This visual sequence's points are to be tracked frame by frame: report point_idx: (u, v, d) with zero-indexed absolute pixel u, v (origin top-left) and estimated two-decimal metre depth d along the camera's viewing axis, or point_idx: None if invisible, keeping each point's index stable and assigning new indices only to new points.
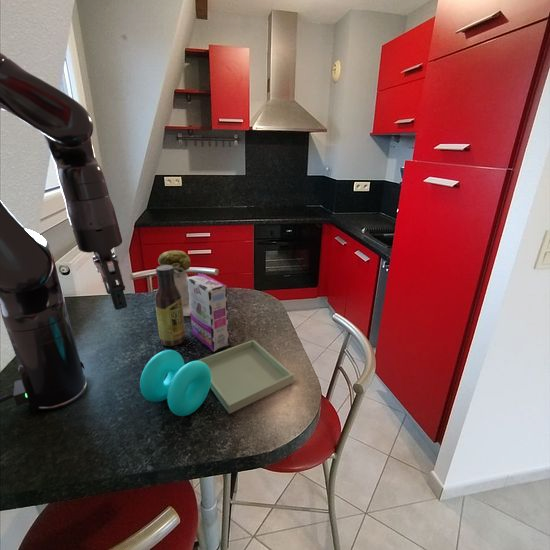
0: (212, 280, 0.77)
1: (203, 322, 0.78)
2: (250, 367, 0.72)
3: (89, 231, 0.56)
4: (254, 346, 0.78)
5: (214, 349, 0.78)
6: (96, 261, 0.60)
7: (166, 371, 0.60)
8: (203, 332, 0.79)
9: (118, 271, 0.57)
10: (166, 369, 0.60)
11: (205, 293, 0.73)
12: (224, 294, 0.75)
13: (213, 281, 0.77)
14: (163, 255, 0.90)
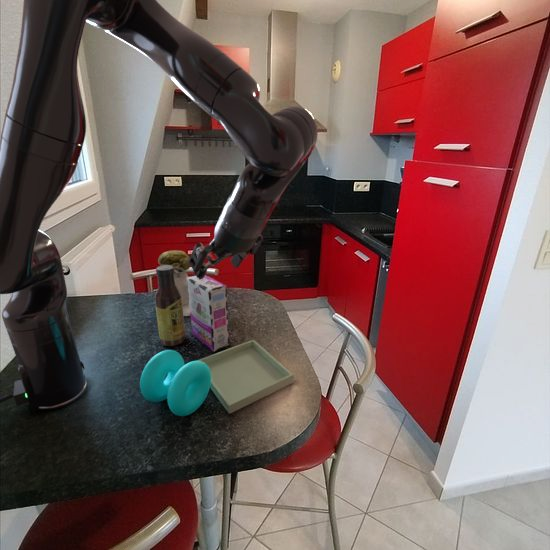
0: (212, 280, 0.77)
1: (203, 322, 0.78)
2: (250, 367, 0.72)
3: (220, 220, 0.54)
4: (254, 346, 0.78)
5: (214, 349, 0.78)
6: None
7: (166, 371, 0.60)
8: (203, 332, 0.79)
9: (198, 260, 0.56)
10: (166, 369, 0.60)
11: (205, 293, 0.73)
12: (224, 294, 0.75)
13: (213, 281, 0.77)
14: (163, 255, 0.90)
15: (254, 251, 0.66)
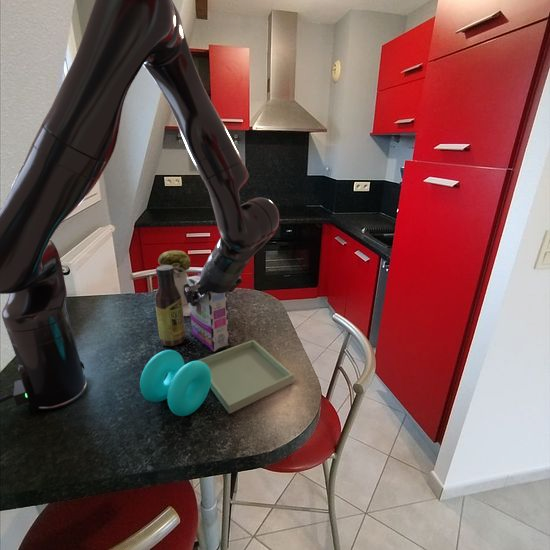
0: None
1: (203, 322, 0.78)
2: (250, 367, 0.72)
3: (204, 267, 0.66)
4: (254, 346, 0.78)
5: (214, 349, 0.78)
6: None
7: (166, 371, 0.60)
8: (203, 331, 0.79)
9: (186, 297, 0.70)
10: (166, 369, 0.60)
11: None
12: (224, 294, 0.75)
13: None
14: (163, 255, 0.90)
15: (232, 289, 0.78)
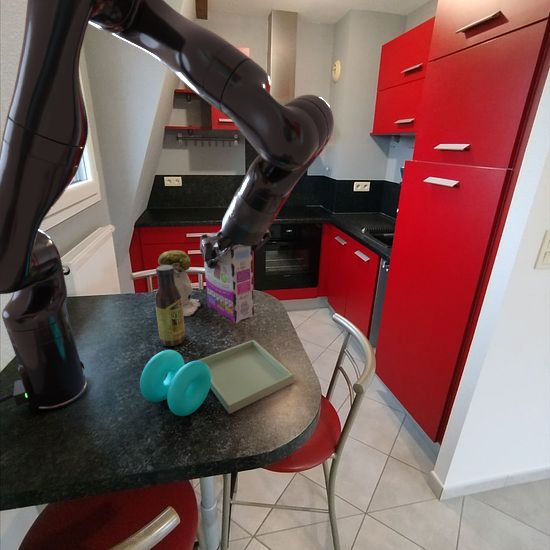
0: None
1: (222, 288, 0.64)
2: (250, 367, 0.72)
3: (228, 210, 0.52)
4: (254, 346, 0.78)
5: (236, 320, 0.63)
6: None
7: (166, 371, 0.60)
8: (223, 300, 0.65)
9: (204, 251, 0.56)
10: (166, 369, 0.60)
11: None
12: (249, 251, 0.61)
13: None
14: (163, 255, 0.90)
15: (257, 248, 0.64)
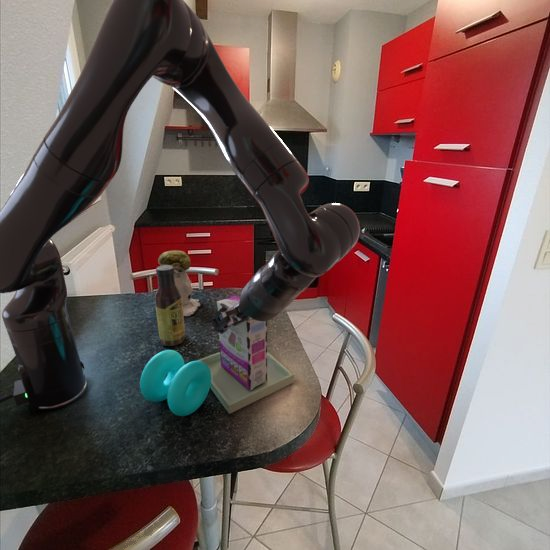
0: None
1: (237, 356, 0.65)
2: None
3: (247, 290, 0.52)
4: None
5: (251, 388, 0.64)
6: None
7: (166, 371, 0.60)
8: (237, 366, 0.66)
9: (221, 323, 0.56)
10: (166, 369, 0.60)
11: (243, 323, 0.60)
12: (264, 323, 0.62)
13: None
14: (163, 255, 0.90)
15: None
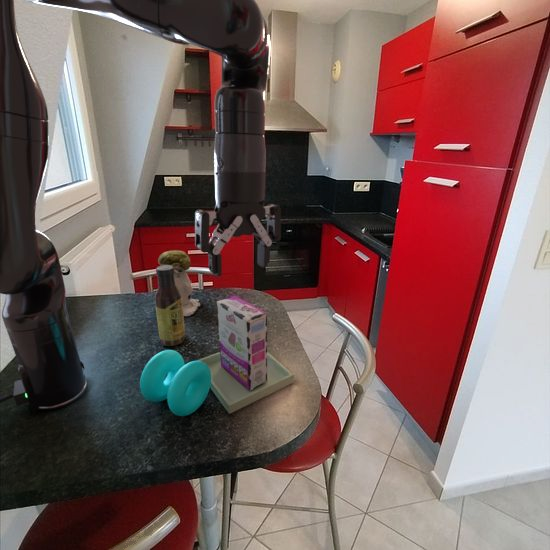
0: (248, 305, 0.64)
1: (237, 356, 0.65)
2: None
3: (214, 172, 0.47)
4: None
5: (251, 388, 0.64)
6: None
7: (166, 371, 0.60)
8: (237, 366, 0.66)
9: (200, 226, 0.46)
10: (166, 369, 0.60)
11: (243, 323, 0.60)
12: (264, 323, 0.62)
13: (249, 306, 0.64)
14: (163, 255, 0.90)
15: (278, 234, 0.54)
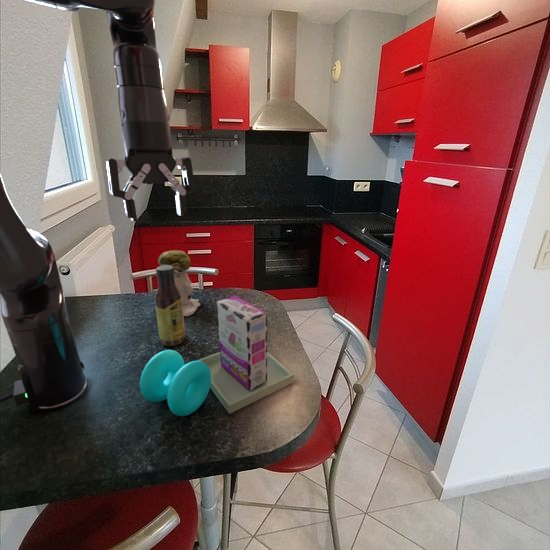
0: (248, 305, 0.64)
1: (237, 356, 0.65)
2: None
3: None
4: None
5: (251, 388, 0.64)
6: None
7: (166, 371, 0.60)
8: (237, 366, 0.66)
9: (109, 172, 0.52)
10: (166, 369, 0.60)
11: (243, 323, 0.60)
12: (264, 323, 0.62)
13: (249, 306, 0.64)
14: (163, 255, 0.90)
15: (191, 184, 0.60)
